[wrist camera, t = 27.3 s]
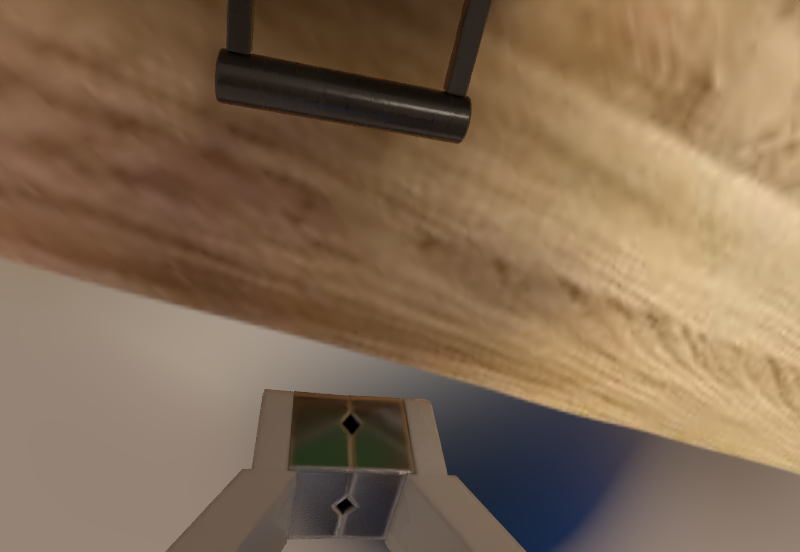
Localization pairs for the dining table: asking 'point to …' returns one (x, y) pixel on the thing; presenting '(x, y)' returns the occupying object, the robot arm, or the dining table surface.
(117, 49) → the dining table surface
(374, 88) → the drawer
